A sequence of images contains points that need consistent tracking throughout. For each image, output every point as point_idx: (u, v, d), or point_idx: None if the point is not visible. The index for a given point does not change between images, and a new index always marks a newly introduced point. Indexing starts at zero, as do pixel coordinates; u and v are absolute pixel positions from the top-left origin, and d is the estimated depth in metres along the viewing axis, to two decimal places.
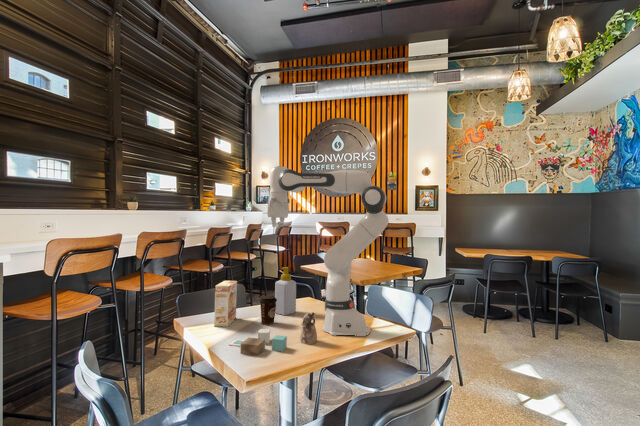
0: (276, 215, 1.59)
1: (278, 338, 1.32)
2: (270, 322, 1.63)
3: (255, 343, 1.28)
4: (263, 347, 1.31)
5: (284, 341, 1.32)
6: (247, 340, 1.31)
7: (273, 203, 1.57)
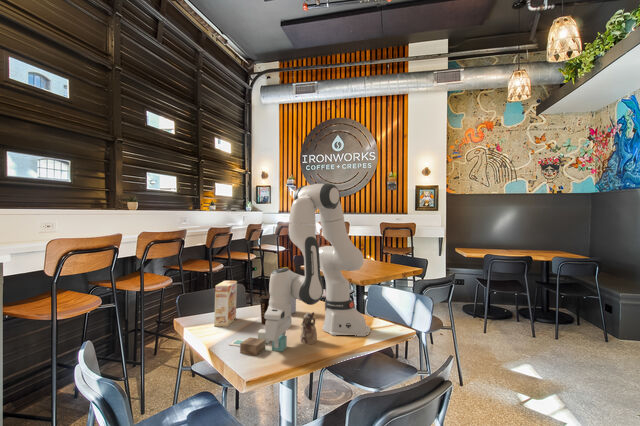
0: None
1: None
2: None
3: (254, 343, 1.28)
4: (263, 347, 1.31)
5: (284, 341, 1.32)
6: (247, 340, 1.31)
7: None
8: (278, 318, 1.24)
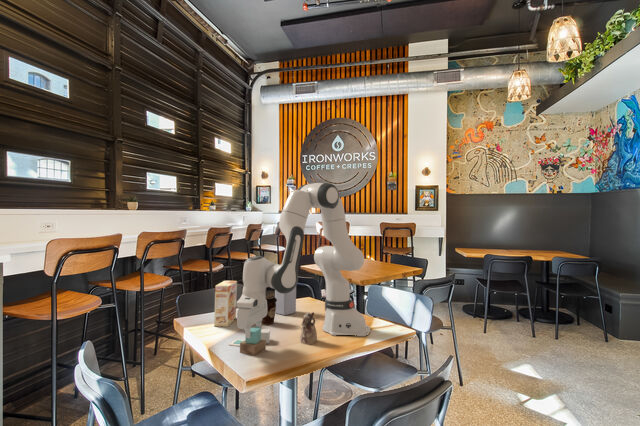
0: None
1: (252, 330, 1.29)
2: (270, 322, 1.63)
3: None
4: (263, 348, 1.30)
5: (258, 333, 1.29)
6: None
7: None
8: (250, 306, 1.22)
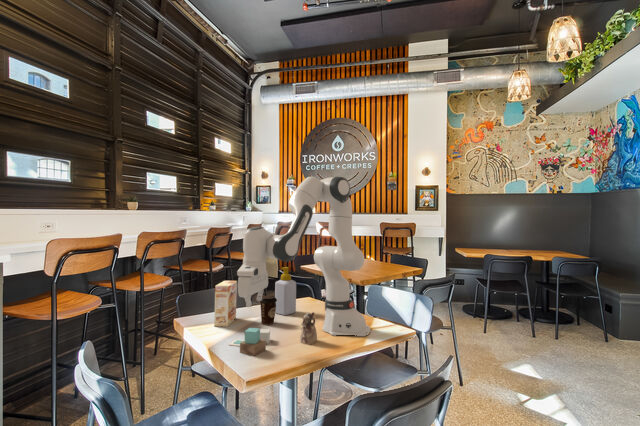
0: None
1: (251, 330, 1.29)
2: (270, 322, 1.63)
3: None
4: (263, 348, 1.30)
5: (257, 333, 1.29)
6: None
7: None
8: (251, 274, 1.22)
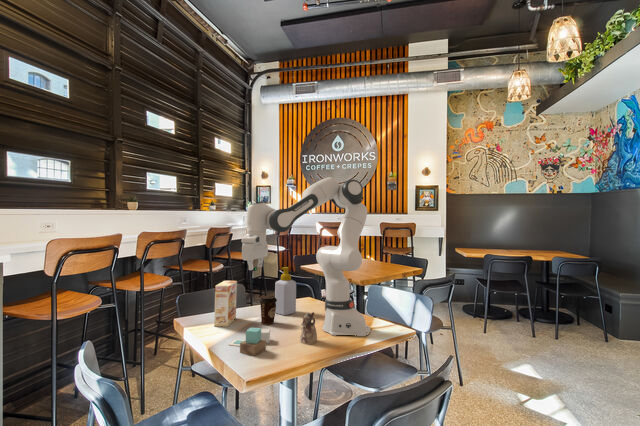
0: None
1: (252, 330, 1.29)
2: (270, 322, 1.63)
3: None
4: (263, 348, 1.30)
5: (258, 333, 1.29)
6: None
7: None
8: (253, 241, 1.42)
